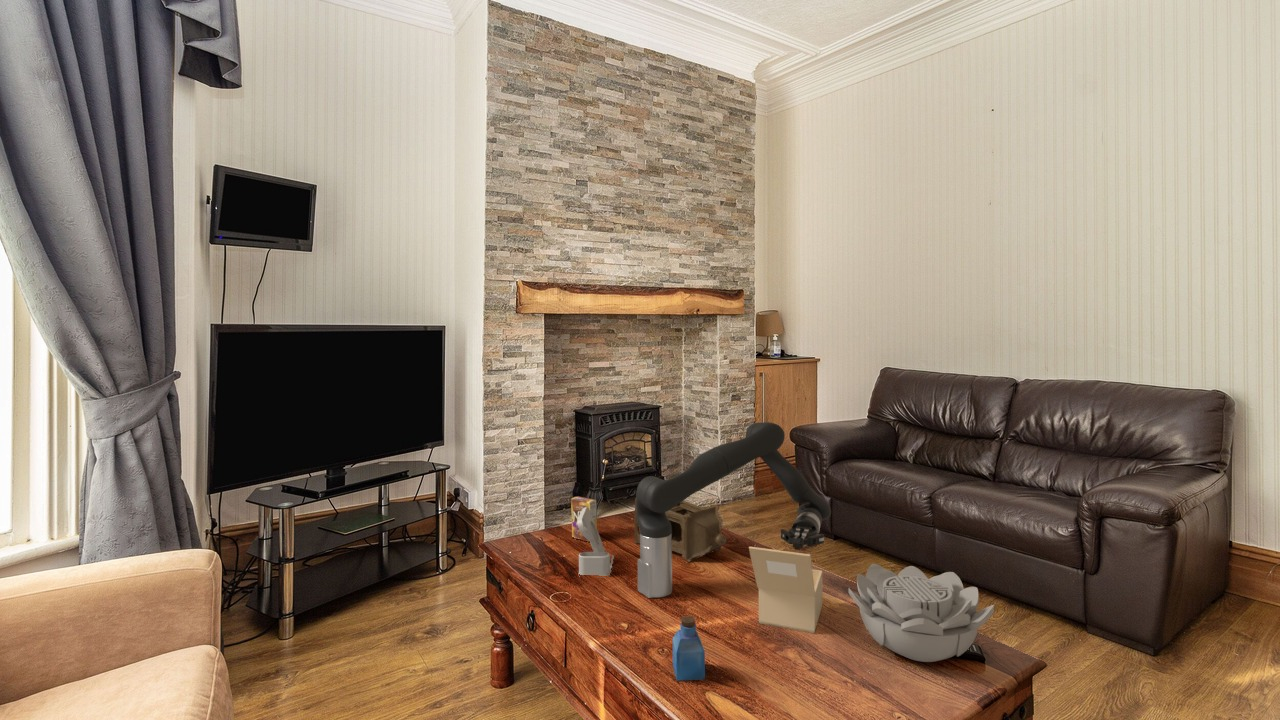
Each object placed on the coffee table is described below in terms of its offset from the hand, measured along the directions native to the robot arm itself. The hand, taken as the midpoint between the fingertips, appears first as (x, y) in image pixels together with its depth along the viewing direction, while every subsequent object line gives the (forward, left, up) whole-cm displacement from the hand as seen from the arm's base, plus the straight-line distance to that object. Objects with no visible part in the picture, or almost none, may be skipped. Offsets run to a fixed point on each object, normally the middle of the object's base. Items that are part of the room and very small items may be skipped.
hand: (797, 546), depth 169 cm
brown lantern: (-3, +49, -16) cm, 52 cm away
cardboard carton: (-7, -5, -16) cm, 18 cm away
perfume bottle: (-46, -12, -16) cm, 50 cm away
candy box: (-27, +78, -16) cm, 84 cm away
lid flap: (-18, -12, +1) cm, 22 cm away
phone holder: (-35, +53, -16) cm, 66 cm away
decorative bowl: (+4, -33, -16) cm, 37 cm away
